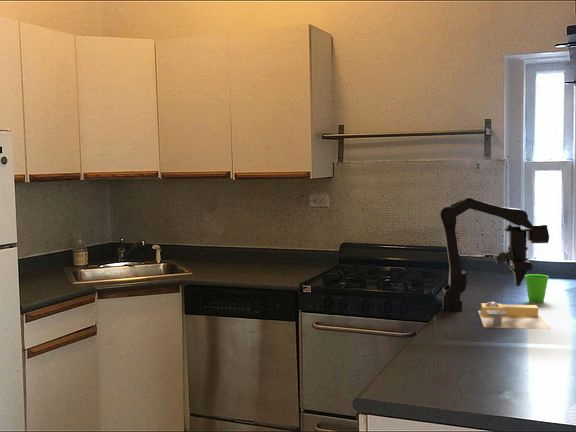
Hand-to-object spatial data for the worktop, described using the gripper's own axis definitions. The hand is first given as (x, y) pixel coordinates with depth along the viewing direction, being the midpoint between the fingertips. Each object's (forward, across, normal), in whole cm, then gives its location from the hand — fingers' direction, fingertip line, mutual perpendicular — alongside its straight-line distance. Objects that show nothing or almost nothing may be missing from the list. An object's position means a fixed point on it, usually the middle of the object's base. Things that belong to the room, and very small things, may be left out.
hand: (517, 285), depth 254 cm
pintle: (+9, +6, -10) cm, 15 cm away
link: (+9, +6, -4) cm, 12 cm away
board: (+10, +14, -5) cm, 18 cm away
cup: (+10, -18, +10) cm, 23 cm away
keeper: (+9, +22, -11) cm, 26 cm away
